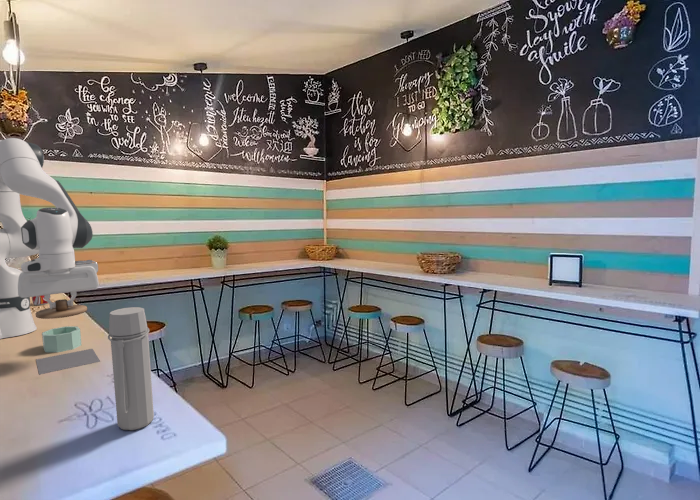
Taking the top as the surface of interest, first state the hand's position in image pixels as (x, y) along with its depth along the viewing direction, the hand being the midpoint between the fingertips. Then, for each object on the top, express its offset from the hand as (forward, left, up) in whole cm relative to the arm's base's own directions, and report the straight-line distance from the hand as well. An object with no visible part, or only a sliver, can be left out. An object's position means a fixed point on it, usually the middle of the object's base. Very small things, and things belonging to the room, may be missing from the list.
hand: (61, 307), depth 130 cm
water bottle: (+43, -38, -17) cm, 59 cm away
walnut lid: (0, 0, -2) cm, 2 cm away
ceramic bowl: (-9, +10, -17) cm, 22 cm away
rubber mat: (+2, -2, -17) cm, 17 cm away
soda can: (-66, +72, -17) cm, 99 cm away
